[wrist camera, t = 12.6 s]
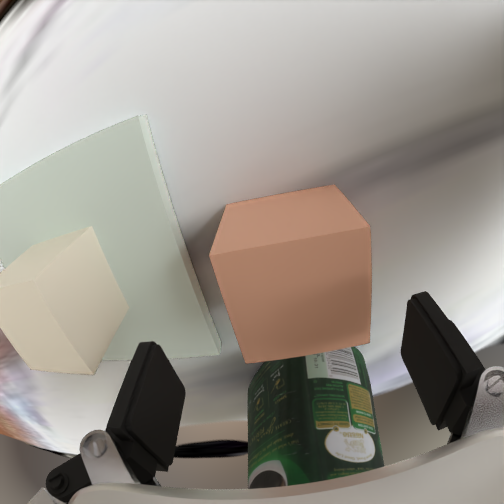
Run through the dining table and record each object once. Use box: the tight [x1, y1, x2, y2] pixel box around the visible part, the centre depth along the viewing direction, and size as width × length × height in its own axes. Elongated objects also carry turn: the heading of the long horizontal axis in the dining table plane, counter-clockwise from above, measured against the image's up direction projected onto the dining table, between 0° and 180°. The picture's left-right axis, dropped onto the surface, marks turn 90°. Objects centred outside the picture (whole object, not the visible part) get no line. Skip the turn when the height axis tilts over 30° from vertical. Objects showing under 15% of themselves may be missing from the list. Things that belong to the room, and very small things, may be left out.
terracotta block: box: [209, 184, 372, 364], centre depth 15 cm, size 6×6×6 cm
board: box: [0, 115, 222, 360], centre depth 18 cm, size 16×16×1 cm
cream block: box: [0, 226, 130, 375], centre depth 15 cm, size 6×6×6 cm
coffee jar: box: [248, 347, 384, 489], centre depth 14 cm, size 10×8×19 cm
